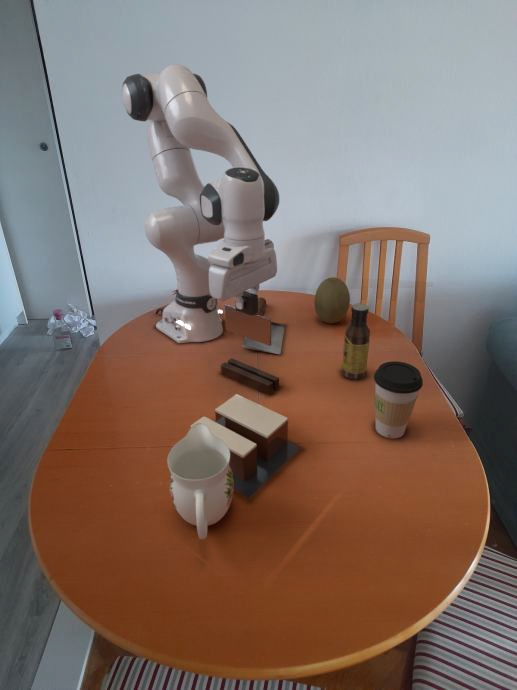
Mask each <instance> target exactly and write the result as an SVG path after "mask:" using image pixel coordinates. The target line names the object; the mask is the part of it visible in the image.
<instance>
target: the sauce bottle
mask: <svg viewBox="0 0 517 690" xmlns="http://www.w3.org/2000/svg"><path fill="white" fill-rule="evenodd" d="M368 314H369V305H367V304H365V303H361V302H360V303H354V304H352V305H351V317H350V318H351V319H350V323H349V325H347V327H346V329H345V331H344V338H343V339H344V340H343V351H342V362H341V371H342V375H343V376H344V377H346V378H348V379H349V380H361V379H363V378H364V377H365V375H366V370H367V366H368V365H367V364H368V357H369V350H370V349H369V348H370V336H371V330H370V328H369V326H368V324H367V322H368V321H367V319H368Z"/></svg>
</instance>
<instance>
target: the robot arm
mask: <svg viewBox="0 0 517 690" xmlns="http://www.w3.org/2000/svg"><path fill="white" fill-rule="evenodd" d="M121 99H122V104H123V106H124V109H125V111H126V113H127V115H128V116H129V117H130V118H131V119H132V120H134V121H138V122H147V121H149V123H148V125H147V129H146V132H147V133H146V135H147V143H148V149H149V153H150V158H151V162H152V165H153V170H154V172H155V173H154V174H155V176H156V180H157V184H158V186H159V188H160V189H161V191H162V192H163V193H164V194H165V195H168V196H169V197H172V198H173V199H177V200H178V201H179V202H180V203H181V204H182V205H179V206H178V205H177V206H171V207H164V208H161V209H158V210H156V211H153V212H150V213H149V214H148V215H147V217H146V219H145V223H144V232H145V237H146V238H147V240H148V242H149V243H150V245H152V247H154V248H155V249H157V250H159V251H160V252H162V253H163V254H165V255H166V257H168V259H169V261H170V262H171V263H172V265H173V268H174V273H175V277H176V284H177V288H176V290H173V291H172V295H173V296H174V295H175V298H174V300H173V301H172V302H170V303H169V304H168V305H166V306H164V307H160V308H157V310H156V311H155V313H154V314H155V315H158V313H160V314H161V317H162V318H161V319H160V320H159V321H158V322H156V324H155V328H156V329H157V330H158V331H160V332H162V333H163V334H164V335H166V336H167V337H169V338H170V339H172V340H173V341H175V343H177V344H185V343H202V342H208V341H211V340H216V339H217V338H218V337H220V336H221V335H222V334H223V332H224V328H223V325H222V324H223V319H222V318H221V314H223V310H222V309H219V305H218V304H219V303H218V301H219V302H220V301H221V302H225V301H227V300H230V299H232V298H233V300H234V302H235V301H236V304H235V307H237V308H238V309H243V308H245V307H246V301H244V300H243V299H242V297H241V296H243V292H244V291H245V292H247V291H248V292H249V293H252V294H255V295H258V293H259V290H260V285H261V284H263V283H264V282H267V281H269V280H271V279H273V278H275V277H276V276H277V274H278V260H277V253H276V250H275V243H274V242H273V241H272V240H271V239H270V238H266V237H265V235H266V234H265V229H264V224H263V223H264V222H268V221H269V220H271V218H272V217H273V216H274V215H275V214H276V212H277V210H278V208H279V205H280V192H279V189H278V187H277V185H276V184H275V182H274V181H273V180H272V179H271V178H270V177H269V175H268V174H266V172H265V170H263V168H262V167H261V165H260V163H259V162H258V160H257V159H256V157H255V156H254V154H253V153H252V151H251V149H250V148H249V147H248V144H246V141H245V140H244V139H243V137H242V135H241V134H240V133H239V131H238V130H237V129H236V127H235V126H234V125H232V124H231V123H230V122H228V121H227V120H225V119H224V118H223V117H222V116H221V115H220V114H219V113H218V112H217V111H216V110H215V109H214V107H212V104H211V103H210V101H209V99H208V90H207V87H206V84H205V81H204V80H203V78H202V77H201V75H199V74H197V73H193V72H192V71H191V70H190V68H188V67H187V66H185V65H183V64H178V63H177V64H176V63H175V64H170V65H168V66H166V67H165V68H163V69H162V70H161V71H160V72H150V73H144V74H140V73H134V74H131V75H129V76H126V78H125V79H124V81H123V83H122V91H121ZM191 149H192V150H197V151H202V152H206V153H211V154H214V155H216V156H217V155H218V156H220V157H222V158H223V159H225V160H226V161H228V162H229V164H230V165H231V168H229V169H227V170H226V171H224V173H223V175H222V177H221V178H219V179H217V180H214V181H211V182H208V183H207V184H205V185H204V184H203V182H202V180H201V179H200V176H199V173H198V171H197V167H196V164H195V162H194V158H193V155H192V152H191ZM219 241H220V243H219V244H218V245H217V246H216V247H215V248H213V249H212V250H211V251H210V252H209V253H208V255H207V257H205V256H203V255H200V254H196V253H195V246H198V245H203V244H210V243H215V242H219Z"/></svg>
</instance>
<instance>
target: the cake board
mask: <svg viewBox="0 0 517 690" xmlns="http://www.w3.org/2000/svg"><path fill="white" fill-rule="evenodd" d="M214 415H215V416H214V417H215V422H216V423H218V424H220V425H222V426H224V427H225V428H227V429H229V430H231V431H233V432H235V433H237V434H239V435H240V436H242V437H244V438H246V439H248V440H250V441H252V442H254V443H255V444H257V470H256V471H255V472H254V473H253V474H252V475H251V476H250V477H249V478H248V479H247V480H245V481H242V480H241V479H239V478H237V477H236V476H234V475H233V478H234V490H235V491H236V492H238V493H240V494H242V495H243V496H244V497H246V498H248V499H250V498H252V496H253V495H254V494H255V493H256V492H257V491H258V490H259V489H260V488H261V487H262V486H263V485H264V484H265V483H266V482H267V481H268V480H269V479H271V478H272V476H273V475H274V474H276V473H277V472H278V471H279V470H280V469H281V468H282V467H283V466H284V465H285V464H286V463H287V462H288V461H289V460H290V459H291V458H292V457H293V456H295V454H296V453H297V452H298V451H299V450H300V449H301V446H299V445H297V444H295V443H292V442H290V441H289V440H288V436H289V417H287V416H284V415H282V414H280V413H278V412H276V411H273V410H272V409H270V408H268V407H265V406H264V405H261V404H259V403H257V402H254V401H253V400H250V399H248V398H245V397H244V396H241V395H240V394H237V393H236V394H234V395H233V396H232V397H230V398H229V399H227V400H225V402H223V403H221V404H220V405H219V406H217V407H216V408H215V409H214Z"/></svg>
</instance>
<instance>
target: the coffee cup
mask: <svg viewBox="0 0 517 690" xmlns="http://www.w3.org/2000/svg"><path fill="white" fill-rule="evenodd" d="M373 381H374V383H375V386H374V417H375V430H376V432H377V433H378V434H379V435H380V436H382V437H385V438H388V439H399V438H401V437H403V435H405V432H406V430H407V429H406V428H407V427H408V426H407V425H408V423H409V422H410V419H411V416H412V413H413V410H414V407H415V404H416V402H417V399H418V395H419V391H421V389H422V388H423V385H424V380H423V377H422V374H421V371H420V370H419V368H417V367H416V366H415V365H412V364H410V363H407V362H403V361H398V360H396V361H394V360H393V361H386V362H383V363H381V364H380V365H379V366H378V368H377V369H376V370H375V371H374V374H373Z"/></svg>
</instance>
